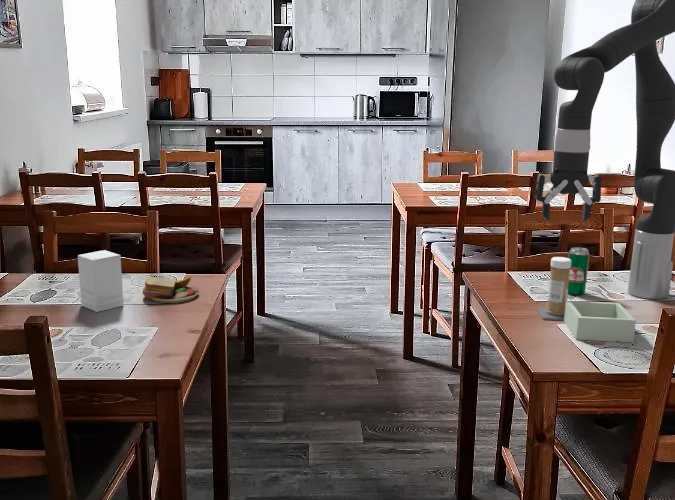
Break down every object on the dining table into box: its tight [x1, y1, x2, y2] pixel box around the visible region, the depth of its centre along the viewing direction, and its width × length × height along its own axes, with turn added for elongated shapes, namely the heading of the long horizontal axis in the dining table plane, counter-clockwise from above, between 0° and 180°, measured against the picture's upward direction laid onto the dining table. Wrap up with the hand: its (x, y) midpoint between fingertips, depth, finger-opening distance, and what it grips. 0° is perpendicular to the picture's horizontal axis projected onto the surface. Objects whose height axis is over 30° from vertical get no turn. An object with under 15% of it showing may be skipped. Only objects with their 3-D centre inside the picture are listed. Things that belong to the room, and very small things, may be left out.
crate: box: [563, 300, 637, 343], centre depth 155 cm, size 12×12×5 cm
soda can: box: [567, 246, 590, 296], centre depth 183 cm, size 5×5×12 cm
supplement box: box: [77, 249, 124, 313], centre depth 165 cm, size 7×7×13 cm
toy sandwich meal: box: [142, 276, 200, 304], centre depth 174 cm, size 12×14×5 cm
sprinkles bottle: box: [546, 256, 571, 316], centre depth 165 cm, size 5×5×13 cm
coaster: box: [536, 307, 564, 322], centre depth 166 cm, size 8×8×1 cm
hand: (565, 219), depth 161 cm, fingers open, 8 cm apart
